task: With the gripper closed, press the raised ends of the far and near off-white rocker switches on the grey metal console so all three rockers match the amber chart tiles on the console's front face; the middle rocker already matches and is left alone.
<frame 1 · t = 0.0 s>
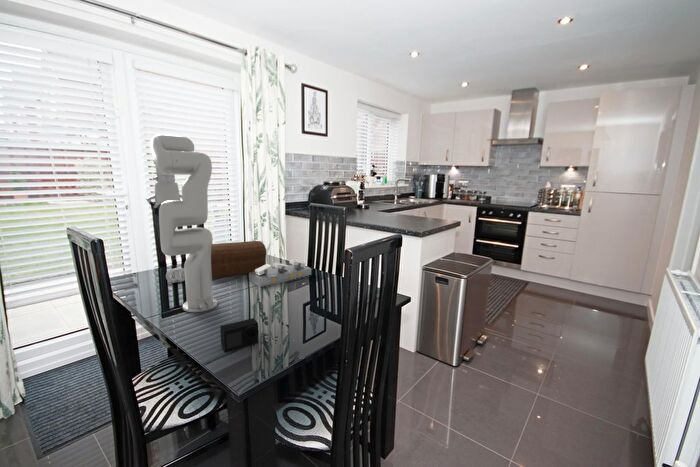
hand: (168, 215, 154), 31 cm above the table, fingers open, 9 cm apart
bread: (235, 272, 171), on the table
console: (281, 277, 162), on the table
rocker near: (263, 269, 155), point 6 cm above the table, hinge at -18.0°
rocker mid: (281, 266, 161), point 6 cm above the table, hinge at 18.0°
rocker far: (297, 263, 167), point 6 cm above the table, hinge at 18.0°
pendant light: (177, 281, 153), on the table
digital camera: (240, 346, 99), on the table
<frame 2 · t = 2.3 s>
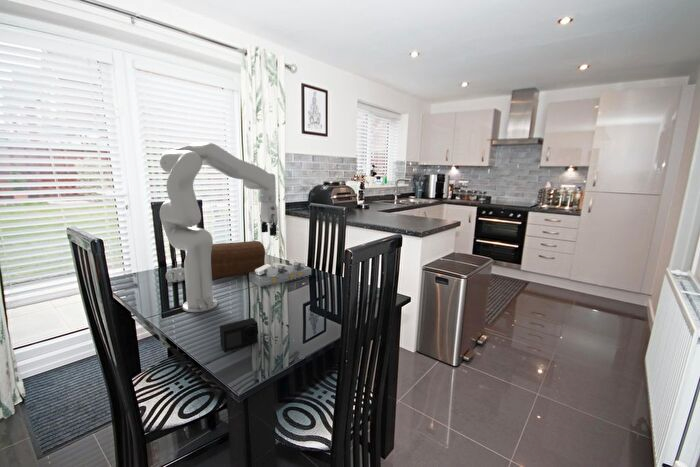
hand: (268, 233, 157), 23 cm above the table, fingers open, 9 cm apart
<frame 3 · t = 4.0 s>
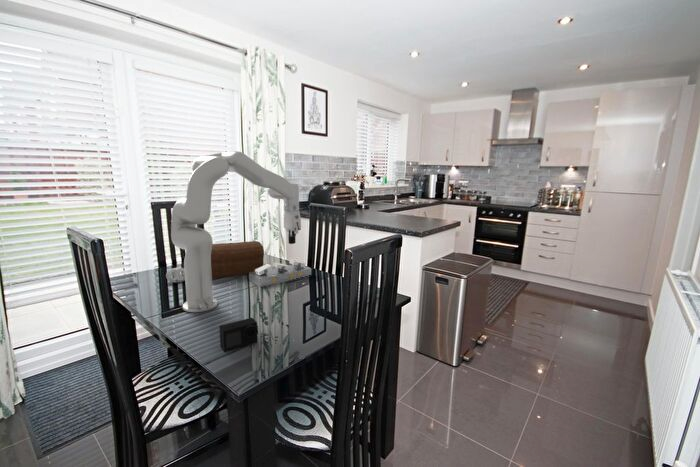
hand: (292, 243, 163), 17 cm above the table, fingers closed
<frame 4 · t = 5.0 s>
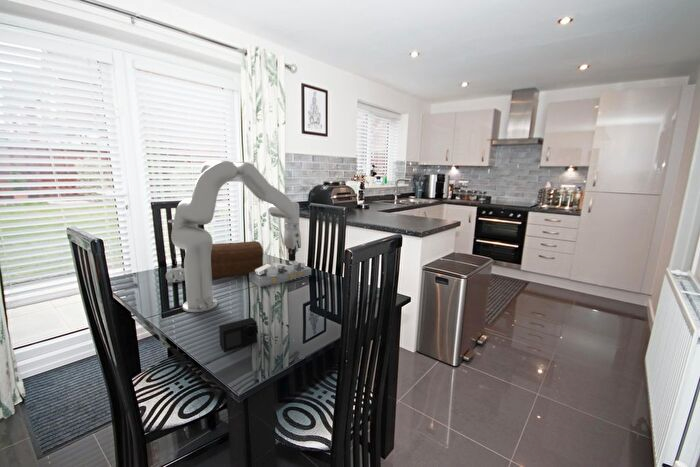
hand: (292, 260, 165), 8 cm above the table, fingers closed
rocker far: (297, 263, 167), point 6 cm above the table, hinge at 17.9°, touching gripper
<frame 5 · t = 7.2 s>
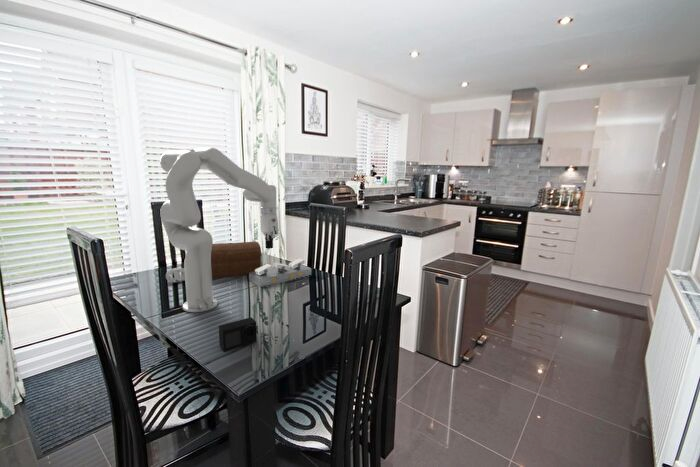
hand: (269, 248, 155), 17 cm above the table, fingers closed
rocker far: (297, 263, 167), point 6 cm above the table, hinge at -15.1°
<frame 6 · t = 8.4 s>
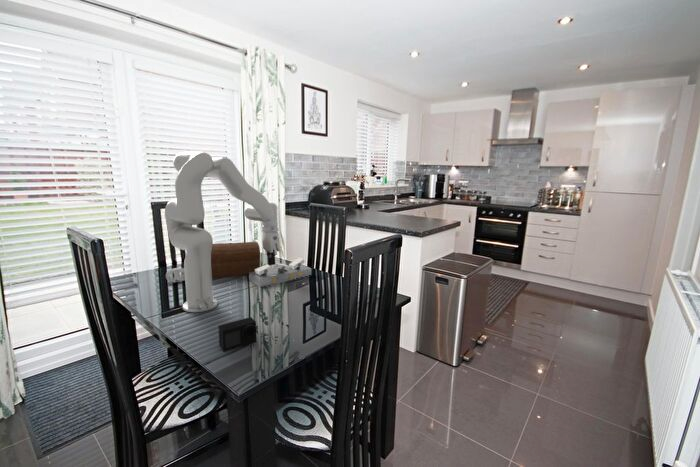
hand: (271, 264, 158), 8 cm above the table, fingers closed
rocker near: (263, 269, 155), point 6 cm above the table, hinge at -14.0°, touching gripper
rocker far: (297, 263, 167), point 6 cm above the table, hinge at -22.9°
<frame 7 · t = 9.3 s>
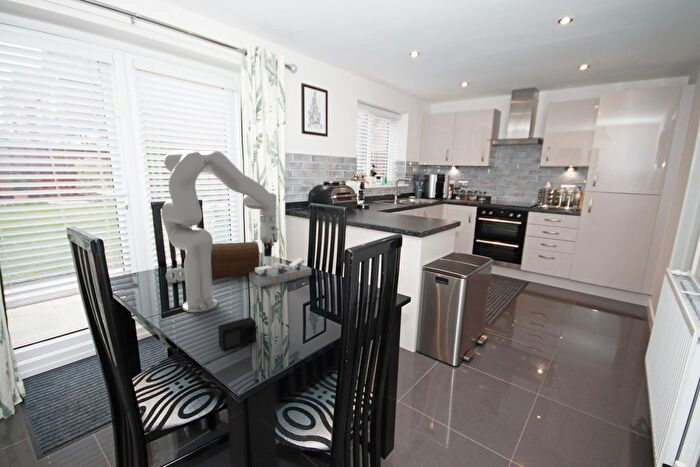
hand: (267, 255, 155), 13 cm above the table, fingers closed
rocker near: (263, 269, 155), point 6 cm above the table, hinge at -0.9°
rocker far: (297, 263, 167), point 6 cm above the table, hinge at -25.3°, touching console
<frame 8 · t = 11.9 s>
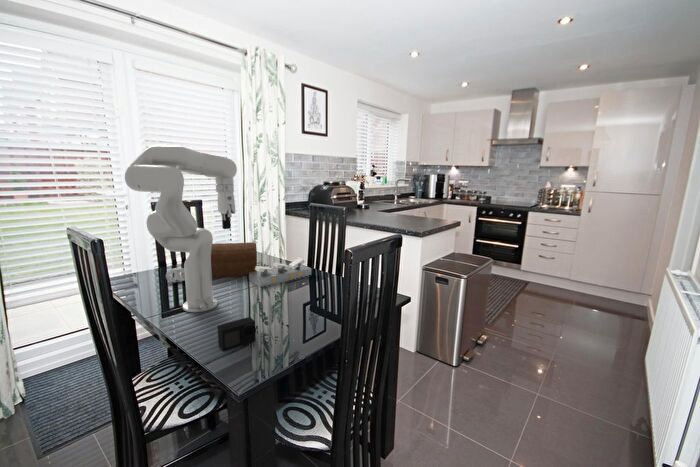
hand: (226, 228, 146), 27 cm above the table, fingers closed
rocker near: (263, 269, 155), point 6 cm above the table, hinge at 13.4°
rocker far: (297, 263, 167), point 6 cm above the table, hinge at -22.4°
at the end: rocker far at -22° (first picture: +18°); rocker near at +14° (first picture: -18°); rocker mid at +18° (first picture: +18°) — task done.
